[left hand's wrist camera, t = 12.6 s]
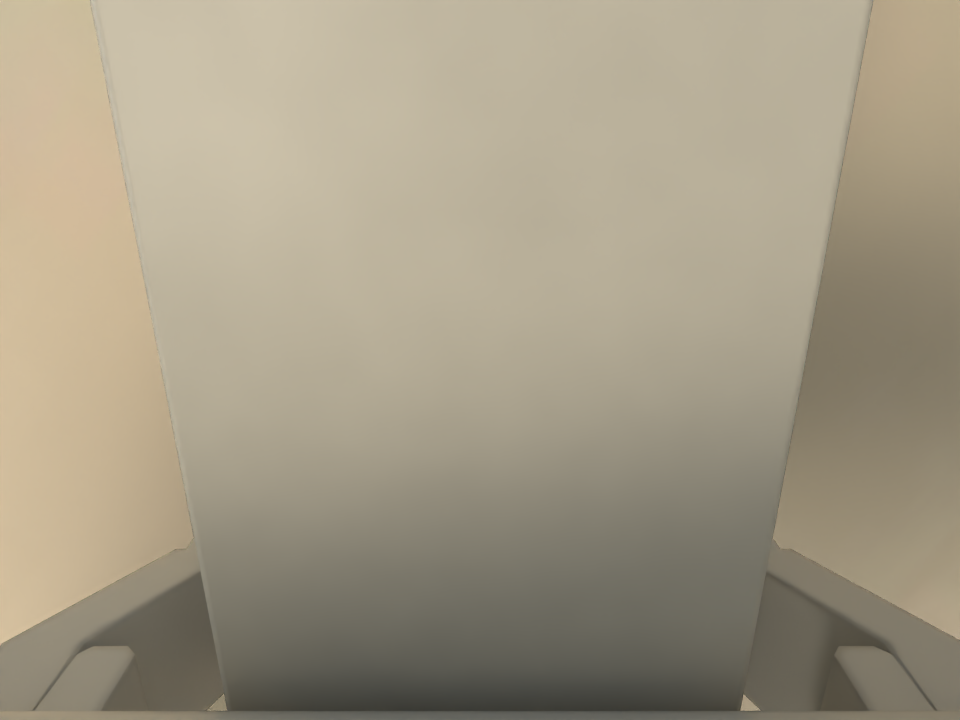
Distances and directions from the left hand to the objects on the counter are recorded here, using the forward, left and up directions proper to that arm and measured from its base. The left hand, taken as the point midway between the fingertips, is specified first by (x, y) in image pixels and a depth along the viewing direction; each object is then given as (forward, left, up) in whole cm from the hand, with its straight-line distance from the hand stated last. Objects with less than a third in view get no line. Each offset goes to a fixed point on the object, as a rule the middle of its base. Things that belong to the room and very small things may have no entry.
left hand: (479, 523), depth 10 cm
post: (+32, -14, -3) cm, 35 cm away
